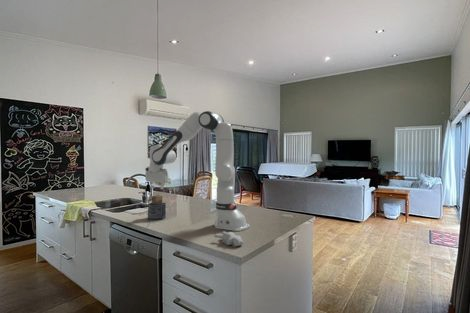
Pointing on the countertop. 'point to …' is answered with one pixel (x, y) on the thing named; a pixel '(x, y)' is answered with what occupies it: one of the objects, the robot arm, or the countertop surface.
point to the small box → (157, 211)
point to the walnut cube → (156, 199)
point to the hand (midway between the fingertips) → (157, 188)
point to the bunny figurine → (230, 238)
